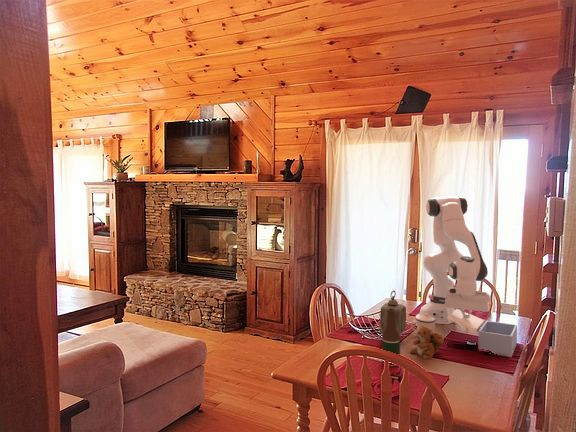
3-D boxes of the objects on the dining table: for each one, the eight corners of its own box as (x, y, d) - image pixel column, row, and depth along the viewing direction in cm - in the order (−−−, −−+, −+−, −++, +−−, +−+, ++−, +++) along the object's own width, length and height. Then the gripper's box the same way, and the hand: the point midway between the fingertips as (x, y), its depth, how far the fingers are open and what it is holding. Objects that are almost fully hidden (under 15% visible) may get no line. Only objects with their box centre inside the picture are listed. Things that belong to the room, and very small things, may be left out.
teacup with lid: (434, 333, 239) (435, 311, 238) (435, 339, 230) (436, 316, 229) (410, 332, 242) (411, 310, 241) (411, 337, 233) (411, 315, 232)
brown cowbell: (389, 334, 238) (389, 287, 236) (406, 337, 233) (407, 288, 232) (379, 342, 226) (380, 292, 224) (397, 345, 221) (398, 294, 219)
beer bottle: (396, 368, 193) (397, 312, 191) (378, 365, 197) (379, 310, 196) (402, 362, 199) (402, 308, 198) (385, 359, 204) (385, 306, 202)
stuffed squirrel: (408, 352, 212) (408, 324, 211) (433, 348, 217) (433, 321, 216) (421, 360, 202) (422, 331, 201) (447, 356, 207) (447, 327, 206)
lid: (447, 316, 220) (446, 319, 220) (478, 330, 212) (477, 332, 213) (457, 307, 236) (456, 309, 236) (485, 319, 229) (485, 322, 229)
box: (511, 357, 205) (512, 336, 205) (478, 351, 213) (478, 331, 212) (516, 344, 222) (517, 325, 221) (485, 339, 230) (486, 320, 229)
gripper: (490, 291, 221) (490, 319, 221) (447, 286, 232) (446, 313, 232) (488, 293, 215) (488, 322, 216) (444, 289, 226) (443, 316, 227)
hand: (466, 318), depth 224 cm, fingers closed
